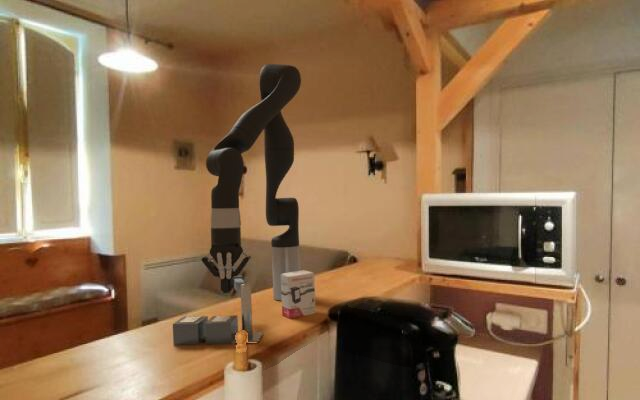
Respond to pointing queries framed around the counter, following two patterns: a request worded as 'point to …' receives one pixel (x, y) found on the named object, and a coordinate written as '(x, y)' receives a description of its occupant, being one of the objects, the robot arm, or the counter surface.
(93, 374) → the counter surface
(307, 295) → the ink box
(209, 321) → the block
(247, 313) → the post
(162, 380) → the counter surface
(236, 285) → the bar
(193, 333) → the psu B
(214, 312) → the counter surface
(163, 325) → the counter surface
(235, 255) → the robot arm
